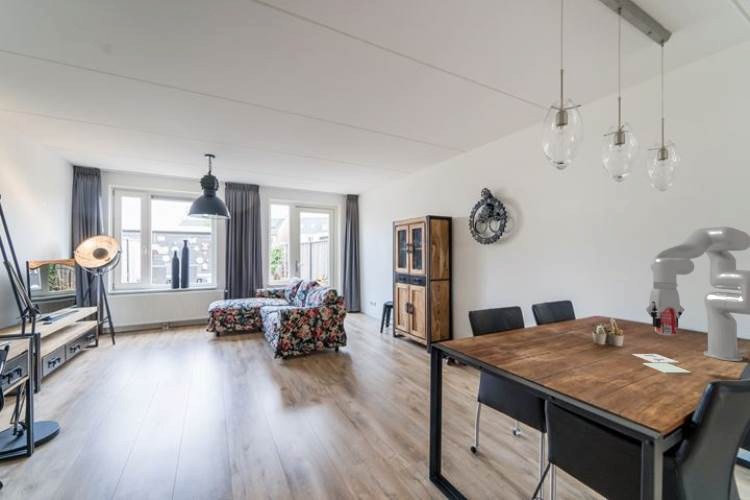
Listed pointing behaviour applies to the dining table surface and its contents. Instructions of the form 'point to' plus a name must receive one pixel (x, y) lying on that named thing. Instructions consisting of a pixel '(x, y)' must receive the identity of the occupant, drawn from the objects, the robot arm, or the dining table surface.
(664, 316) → the soda can
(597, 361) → the dining table surface
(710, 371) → the dining table surface
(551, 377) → the dining table surface
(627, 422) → the dining table surface
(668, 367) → the mat
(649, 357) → the tile
